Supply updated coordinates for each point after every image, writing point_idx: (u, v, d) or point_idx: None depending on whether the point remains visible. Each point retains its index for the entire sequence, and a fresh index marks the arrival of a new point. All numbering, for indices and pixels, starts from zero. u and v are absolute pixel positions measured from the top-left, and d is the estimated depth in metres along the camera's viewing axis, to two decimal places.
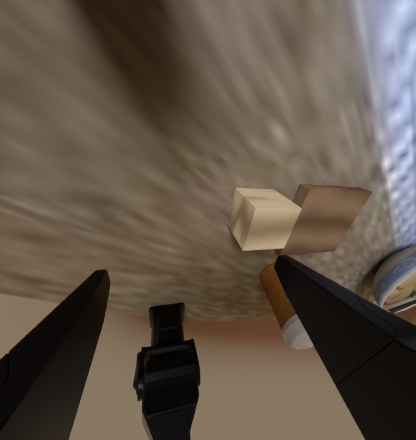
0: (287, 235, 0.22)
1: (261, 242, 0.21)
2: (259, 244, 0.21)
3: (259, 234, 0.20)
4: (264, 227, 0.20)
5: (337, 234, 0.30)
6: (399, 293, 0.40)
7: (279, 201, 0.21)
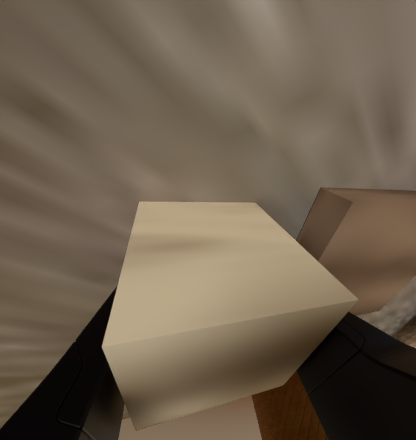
0: (294, 366, 0.06)
1: (201, 401, 0.06)
2: (196, 405, 0.06)
3: (182, 393, 0.05)
4: (199, 377, 0.05)
5: (392, 286, 0.15)
6: None
7: (263, 254, 0.06)
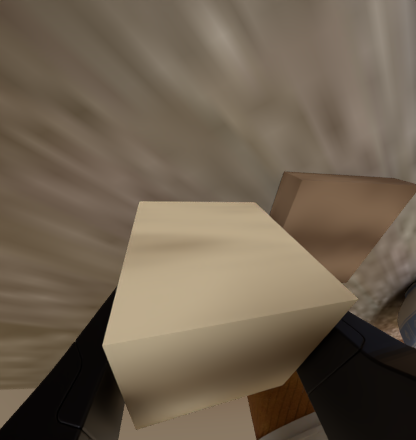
0: (294, 365, 0.06)
1: (201, 400, 0.06)
2: (196, 404, 0.06)
3: (182, 393, 0.05)
4: (199, 376, 0.05)
5: (353, 258, 0.18)
6: None
7: (263, 254, 0.06)
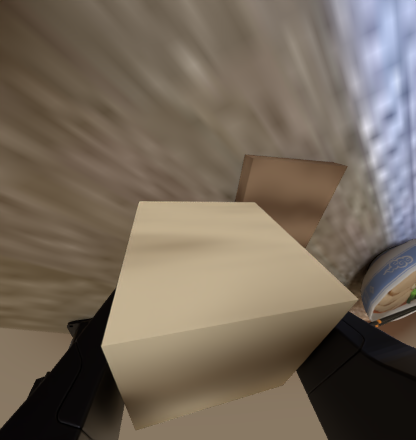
0: (294, 365, 0.06)
1: (201, 401, 0.06)
2: (196, 405, 0.06)
3: (181, 393, 0.05)
4: (198, 377, 0.05)
5: (306, 225, 0.23)
6: (392, 299, 0.33)
7: (263, 254, 0.06)
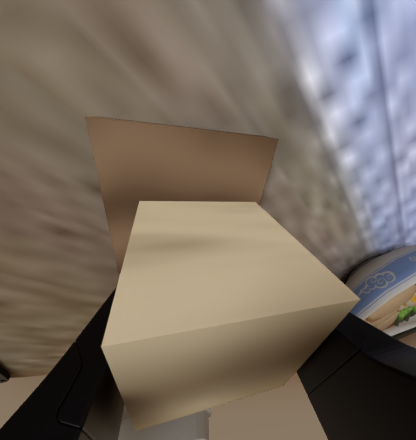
0: (294, 366, 0.06)
1: (201, 401, 0.06)
2: (196, 405, 0.06)
3: (182, 393, 0.05)
4: (199, 377, 0.05)
5: None
6: (373, 324, 0.26)
7: (264, 253, 0.06)
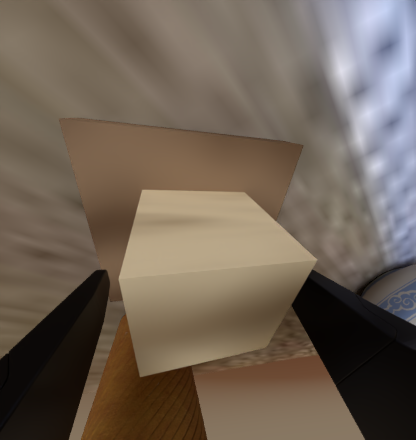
0: (273, 325, 0.07)
1: (194, 352, 0.07)
2: (190, 356, 0.07)
3: (178, 339, 0.06)
4: (191, 323, 0.06)
5: None
6: None
7: (245, 229, 0.07)
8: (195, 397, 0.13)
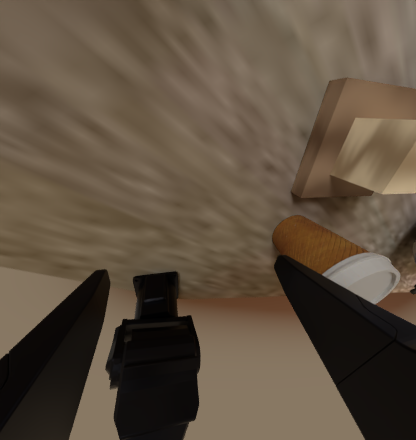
0: None
1: (407, 181, 0.16)
2: (403, 184, 0.16)
3: (411, 167, 0.15)
4: None
5: None
6: None
7: None
8: None
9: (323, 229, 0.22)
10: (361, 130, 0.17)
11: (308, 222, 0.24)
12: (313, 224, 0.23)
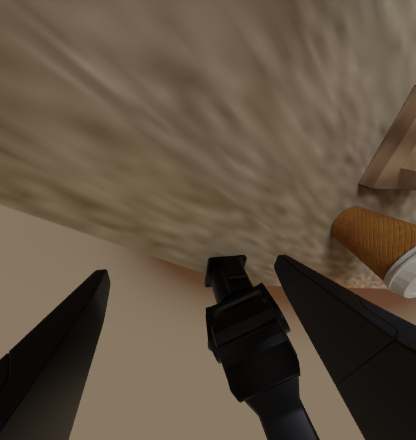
0: None
1: None
2: None
3: None
4: None
5: None
6: None
7: None
8: None
9: (391, 217, 0.25)
10: None
11: (372, 211, 0.26)
12: (378, 213, 0.26)
